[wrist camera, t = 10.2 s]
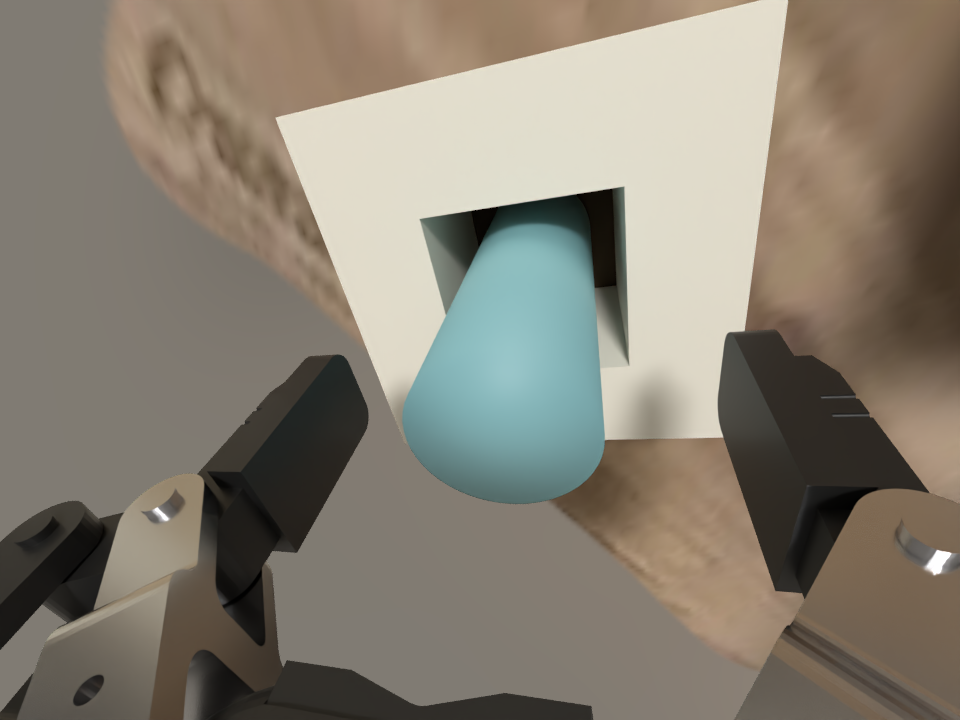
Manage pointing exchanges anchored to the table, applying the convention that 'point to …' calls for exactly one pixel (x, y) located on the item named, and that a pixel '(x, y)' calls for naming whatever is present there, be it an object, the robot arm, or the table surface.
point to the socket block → (560, 172)
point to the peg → (516, 363)
